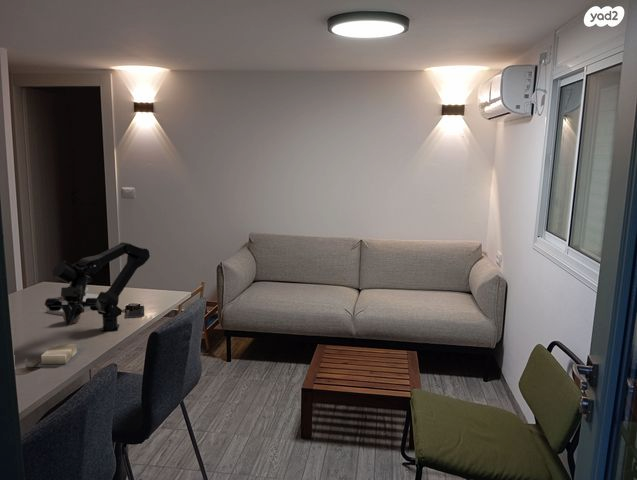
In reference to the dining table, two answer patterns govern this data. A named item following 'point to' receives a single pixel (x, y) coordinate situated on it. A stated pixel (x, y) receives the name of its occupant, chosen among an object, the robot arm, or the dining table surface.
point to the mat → (79, 351)
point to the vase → (74, 320)
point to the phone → (135, 313)
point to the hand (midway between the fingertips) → (68, 325)
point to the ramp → (83, 300)
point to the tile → (59, 354)
